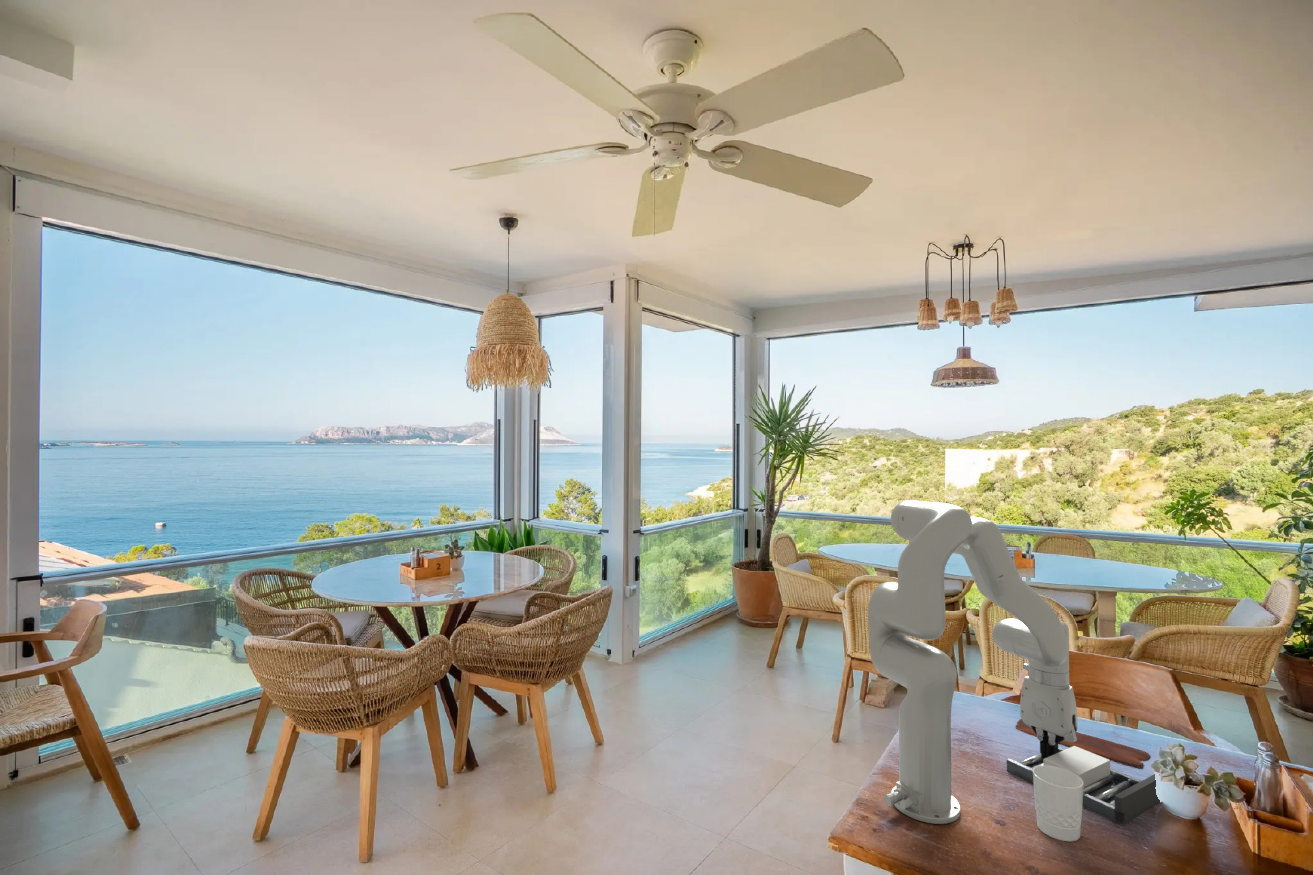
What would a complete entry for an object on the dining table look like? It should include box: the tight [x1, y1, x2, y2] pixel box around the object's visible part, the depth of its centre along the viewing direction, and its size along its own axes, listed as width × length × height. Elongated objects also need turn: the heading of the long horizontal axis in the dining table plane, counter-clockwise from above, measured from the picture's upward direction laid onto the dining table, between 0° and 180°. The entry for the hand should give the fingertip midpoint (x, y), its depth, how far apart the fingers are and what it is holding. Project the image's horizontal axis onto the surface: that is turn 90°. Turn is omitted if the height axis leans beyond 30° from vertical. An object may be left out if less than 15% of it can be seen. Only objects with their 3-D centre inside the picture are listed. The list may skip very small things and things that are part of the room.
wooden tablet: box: [1015, 718, 1151, 769], centre depth 147 cm, size 27×10×2 cm, turn 43°
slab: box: [1043, 746, 1111, 788], centre depth 129 cm, size 12×7×3 cm, turn 119°
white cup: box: [1032, 765, 1084, 842], centre depth 113 cm, size 8×8×10 cm
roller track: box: [1006, 746, 1161, 826], centre depth 128 cm, size 16×22×5 cm
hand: (1049, 759), depth 133 cm, fingers closed
